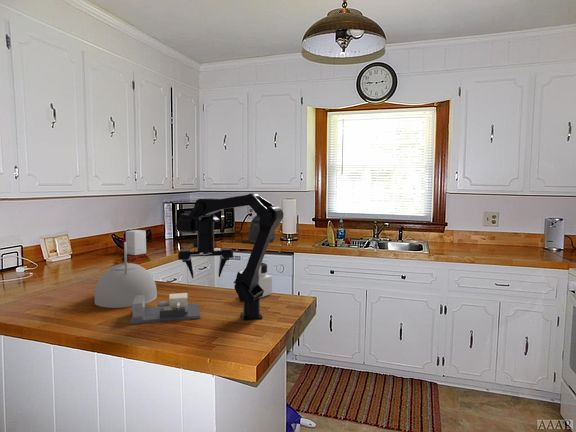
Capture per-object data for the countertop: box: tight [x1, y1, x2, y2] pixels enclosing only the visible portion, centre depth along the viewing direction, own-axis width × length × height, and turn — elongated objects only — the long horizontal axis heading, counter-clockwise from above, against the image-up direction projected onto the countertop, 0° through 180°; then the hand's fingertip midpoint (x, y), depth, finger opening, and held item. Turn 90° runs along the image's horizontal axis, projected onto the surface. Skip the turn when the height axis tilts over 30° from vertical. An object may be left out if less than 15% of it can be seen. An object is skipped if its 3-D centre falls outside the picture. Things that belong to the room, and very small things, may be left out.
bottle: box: [247, 214, 277, 244], centre depth 301 cm, size 18×16×30 cm
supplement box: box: [125, 229, 147, 256], centre depth 249 cm, size 9×9×15 cm
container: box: [258, 262, 273, 298], centre depth 159 cm, size 8×8×13 cm
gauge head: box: [156, 292, 189, 312], centre depth 133 cm, size 10×10×5 cm
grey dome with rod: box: [93, 241, 158, 309], centre depth 152 cm, size 25×23×22 cm
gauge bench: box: [129, 295, 201, 325], centre depth 134 cm, size 14×22×6 cm, turn 106°
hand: (206, 277), depth 138 cm, fingers open, 9 cm apart
